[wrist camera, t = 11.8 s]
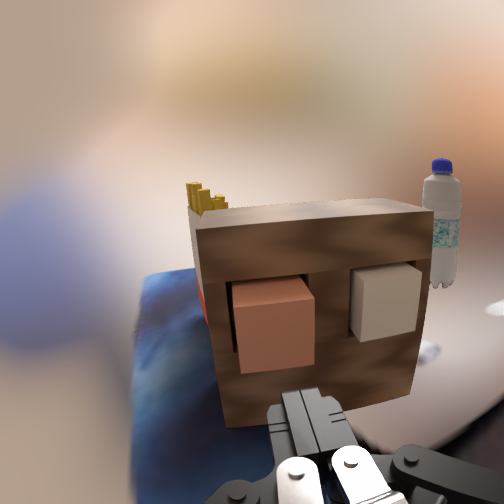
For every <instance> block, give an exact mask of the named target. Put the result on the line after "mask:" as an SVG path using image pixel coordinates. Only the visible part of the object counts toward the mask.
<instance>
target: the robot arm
mask: <svg viewBox="0 0 504 504" xmlns="http://www.w3.org/2000/svg"><path fill="white" fill-rule="evenodd" d="M267 426H268V438H269V444H270V449H271V455H272V461H273V466H274V469H273V471H272V472H271V473H270V474H269V475H268V476H266V477H265V478H263V479H261V480H258V481H256V482H253V483H251V482H249V481H246V480H240V479H239V480H231V481H228V482H226V483H225V484H223V485H222V486H221V487H220V488H219V489H218V490H217V491H216V492H215V493H214V494H213V495H212V496H211V497H210V498H209V499H208V500H207V501H206V502H205V503H204V504H324V501H323V496H322V491H321V486H320V485H322V484H325V487H326V490H327V494H326V500H327V503H328V504H504V473H502V472H499V471H495V470H491V469H488V468H484V467H481V466H478V465H474V464H471V463H468V462H465V461H461V460H458V459H455V458H452V457H449V456H446V455H443V454H440V453H438V452H435V451H432V450H429V449H426V448H423V447H421V446H418V445H405V446H402V447H401V448H399V449H398V450H397V451H396V452H395V453H394V454H391V455H374V454H370V453H368V452H367V451H366V450H364V449H363V448H361V447H360V446H359V445H358V443H357V440H356V438H355V436H354V434H353V432H352V430H351V427H350V425H349V423H348V421H347V420H346V417H345V414H344V413H343V410H342V408H341V406H340V404H339V402H338V401H336V400H335V399H334V398H333V397H331V396H327V397H321V395H320V392H319V390H318V388H317V387H310V388H304V389H299V390H292V391H285V392H281V404H279V405H271V406H270V407H269V410H268V412H267Z"/></svg>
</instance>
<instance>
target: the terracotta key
mask: <svg viewBox="0 0 504 504" xmlns="http://www.w3.org/2000/svg"><path fill="white" fill-rule="evenodd" d="M232 294H233V309H234V318H235V327H236V336H237V344H238V352H239V361H240V369H241V374H244V373H253V372H262V371H271V370H279V369H286V368H294V367H301V366H307V365H314V346H315V298H314V297H313V295H312V294H311V292H310V291H309V289H308V288H307V286H306V285H305V283H304V282H303V280H302V278H301V277H300V275H292V276H283V277H273V278H264V279H254V280H244V281H234V282H232Z"/></svg>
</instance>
